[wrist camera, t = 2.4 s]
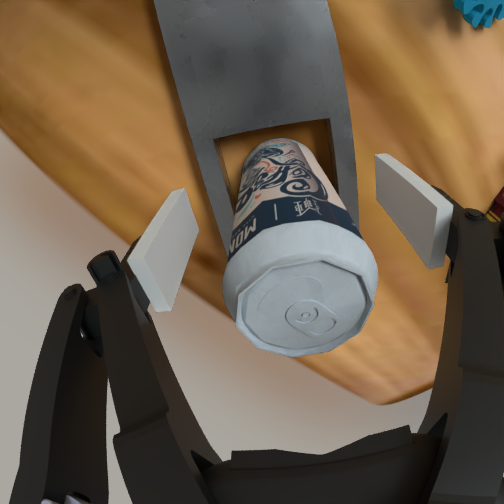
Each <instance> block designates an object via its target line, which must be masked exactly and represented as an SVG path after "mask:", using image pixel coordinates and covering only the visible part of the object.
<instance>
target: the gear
mask: <svg viewBox="0 0 504 504" xmlns="http://www.w3.org/2000/svg"><path fill="white" fill-rule="evenodd" d="M453 3H454V7H455V8H456V9H458V10H459V11H460V12H462V13H463V14H462V15H463V18H464V19H465V20H466V21H467V22H468V23H469V24H471V25H472V26H473V27H477V26H478V24H479V23H481V24H482V25H483V26H484V27H486V28H490V26H491V24H492V20H493V16H494V17H495V18H497V19H498V20H500V19H502V18H503V17H504V0H453Z"/></svg>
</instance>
